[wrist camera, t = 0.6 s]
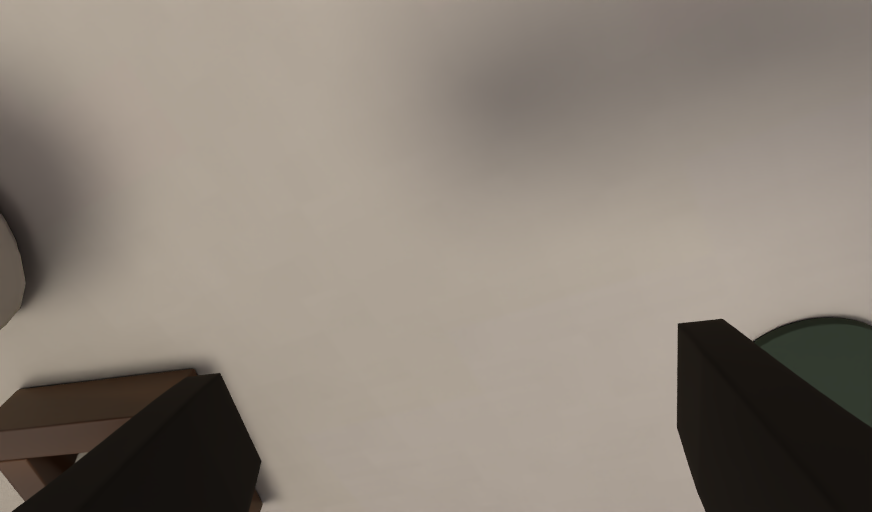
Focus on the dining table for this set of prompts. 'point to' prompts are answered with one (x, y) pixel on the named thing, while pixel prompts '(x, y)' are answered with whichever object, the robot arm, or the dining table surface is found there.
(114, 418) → the holder
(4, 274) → the can
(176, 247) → the dining table surface
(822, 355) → the coaster
